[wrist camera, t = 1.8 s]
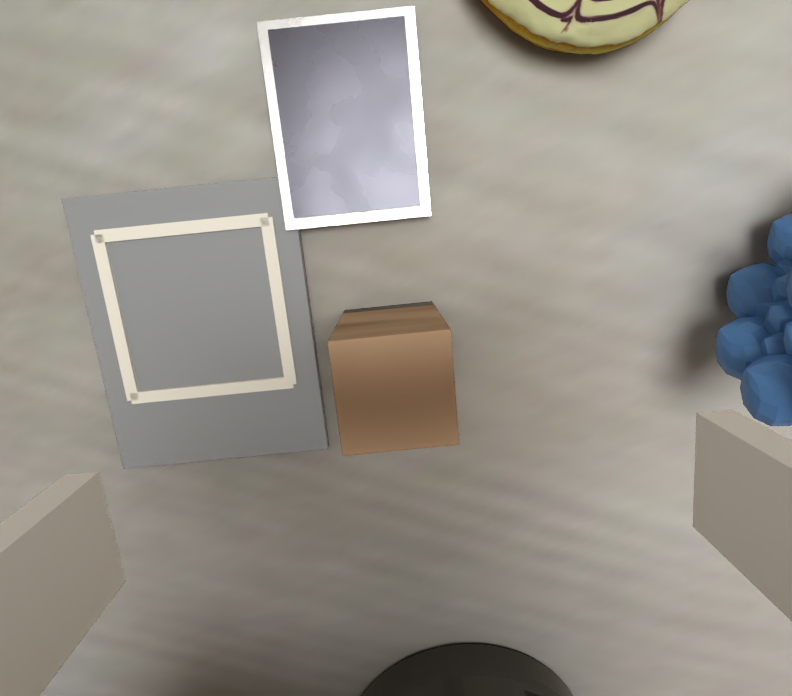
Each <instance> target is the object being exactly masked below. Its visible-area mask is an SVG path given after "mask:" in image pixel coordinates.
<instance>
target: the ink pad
mask: <svg viewBox="0 0 792 696" xmlns="http://www.w3.org/2000/svg"><path fill="white" fill-rule="evenodd" d="M257 29H258V36H259V43H260V50H261V57H262V64H263V71H264V78H265V85H266V92H267V99H268V106H269V114H270V121H271V128H272V135H273V142H274V149H275V156H276V163H277V170H278V177H279V184H280V191H281V199H282V206H283V213H284V220H285V227H286V230H296V229H310V228H320V227H330V226H340V225H349V224H359V223H369V222H379V221H389V220H399V219H409V218H419V217H429V216H431V204H430V192H429V179H428V167H427V155H426V142H425V130H424V117H423V105H422V92H421V80H420V68H419V55H418V43H417V30H416V18H415V6H407V7H397V8H388V9H378V10H368V11H358V12H349V13H339V14H329V15H319V16H310V17H300V18H290V19H280V20H270V21H261V22H257Z"/></svg>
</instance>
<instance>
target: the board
mask: <svg viewBox="0 0 792 696" xmlns="http://www.w3.org/2000/svg"><path fill="white" fill-rule="evenodd" d="M61 200H62V204H63V209H64V213H65V217H66V222H67V226H68V230H69V235H70V239H71V243H72V248H73V252H74V256H75V261H76V265H77V269H78V274H79V278H80V282H81V287H82V291H83V295H84V300H85V304H86V308H87V313H88V317H89V321H90V326H91V330H92V334H93V339H94V343H95V347H96V351H97V356H98V360H99V364H100V369H101V373H102V377H103V382H104V386H105V390H106V395H107V399H108V403H109V408H110V412H111V416H112V421H113V425H114V429H115V434H116V438H117V442H118V447H119V451H120V455H121V460H122V464H123V468H124V469H129V468H139V467H149V466H159V465H169V464H179V463H189V462H200V461H210V460H220V459H230V458H240V457H250V456H260V455H270V454H281V453H291V452H301V451H311V450H321V449H328V446H329V441H328V434H327V426H326V419H325V412H324V404H323V397H322V390H321V382H320V375H319V367H318V360H317V353H316V345H315V338H314V330H313V323H312V316H311V308H310V301H309V294H308V286H307V279H306V271H305V264H304V257H303V249H302V242H301V234H300V229H296V230H286V227H285V220H284V213H283V206H282V199H281V191H280V184H279V177H273V178H263V179H253V180H243V181H233V182H223V183H214V184H204V185H194V186H184V187H174V188H164V189H154V190H144V191H134V192H124V193H115V194H105V195H95V196H85V197H75V198H65V199H61Z"/></svg>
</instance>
